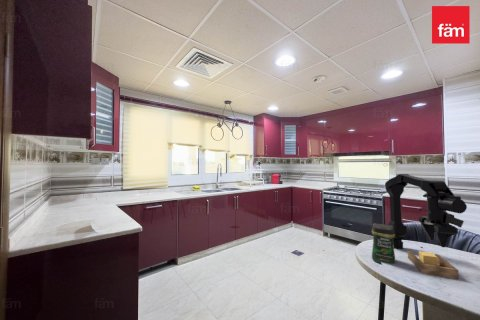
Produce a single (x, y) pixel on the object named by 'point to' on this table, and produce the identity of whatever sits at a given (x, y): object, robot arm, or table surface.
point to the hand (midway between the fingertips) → (437, 243)
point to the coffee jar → (383, 243)
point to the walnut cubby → (435, 267)
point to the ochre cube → (428, 258)
